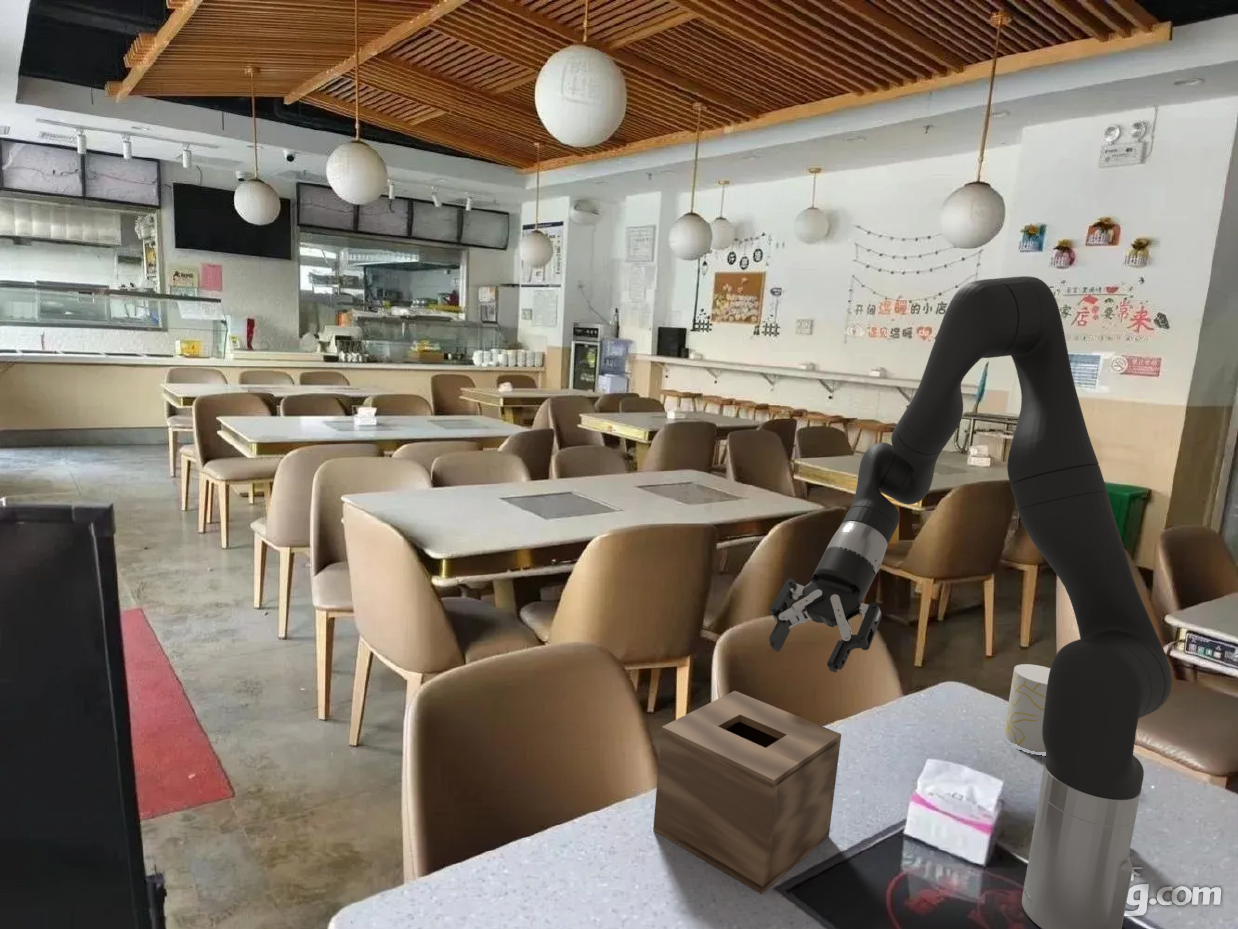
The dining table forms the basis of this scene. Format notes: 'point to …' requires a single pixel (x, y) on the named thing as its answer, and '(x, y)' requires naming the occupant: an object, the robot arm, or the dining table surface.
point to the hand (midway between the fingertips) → (802, 658)
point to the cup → (1027, 707)
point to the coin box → (746, 787)
